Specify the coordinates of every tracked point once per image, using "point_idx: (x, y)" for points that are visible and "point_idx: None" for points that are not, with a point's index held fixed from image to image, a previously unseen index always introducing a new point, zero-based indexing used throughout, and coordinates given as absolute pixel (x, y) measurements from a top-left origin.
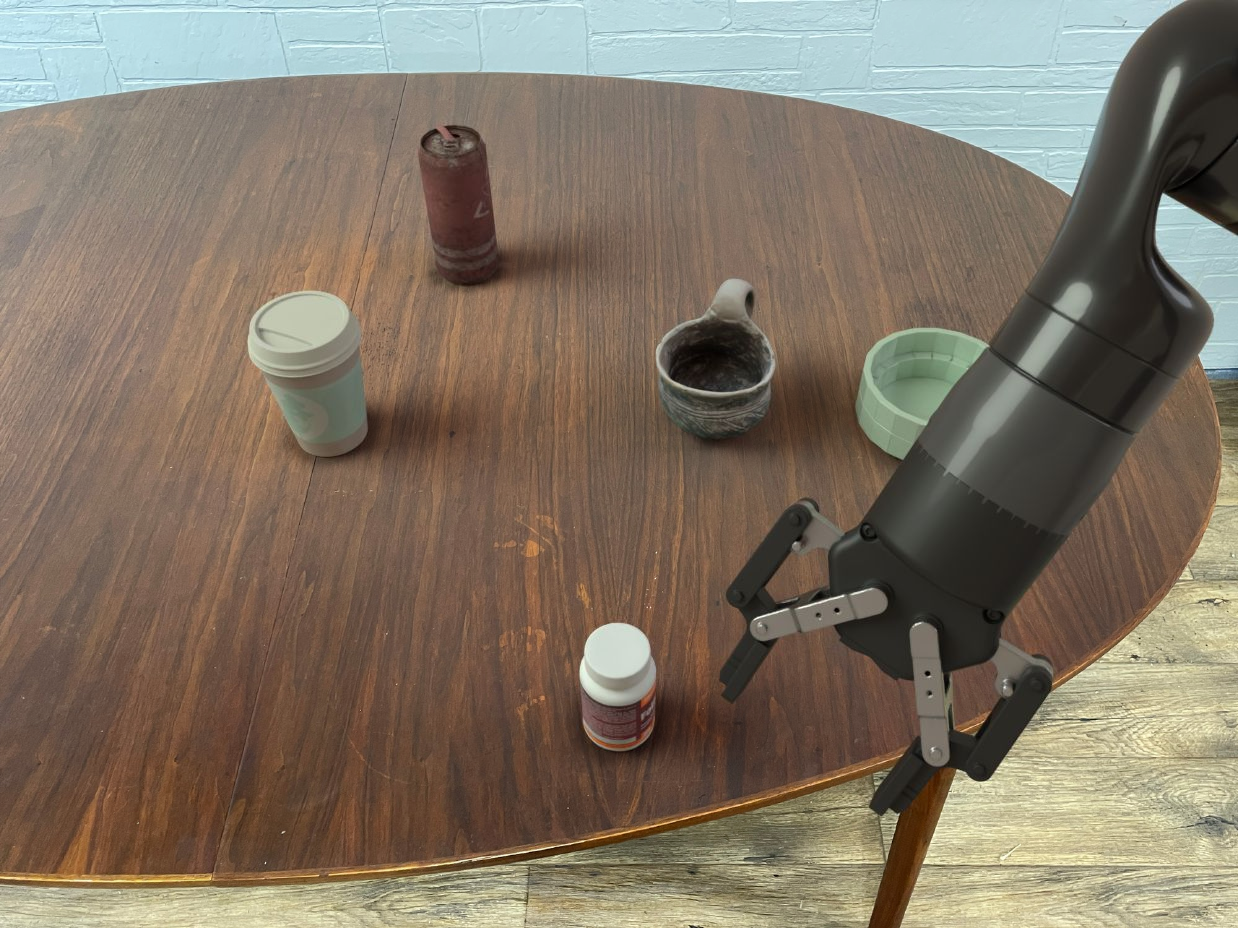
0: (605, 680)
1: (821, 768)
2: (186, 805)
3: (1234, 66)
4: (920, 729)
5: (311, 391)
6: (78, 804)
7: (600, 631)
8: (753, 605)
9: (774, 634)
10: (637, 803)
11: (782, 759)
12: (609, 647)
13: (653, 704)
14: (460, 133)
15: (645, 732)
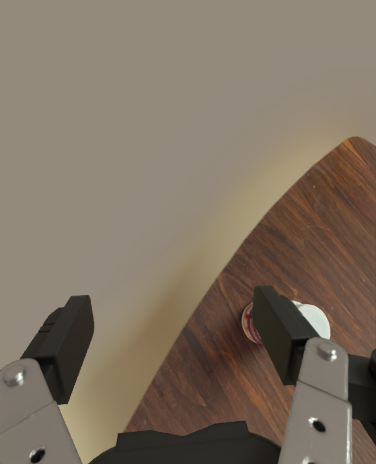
0: (298, 305)
1: (153, 384)
2: (343, 175)
3: None
4: (47, 388)
5: None
6: (364, 156)
7: (327, 332)
8: (363, 373)
9: (309, 355)
10: (221, 288)
11: (176, 370)
12: (315, 326)
13: (257, 332)
14: None
15: (246, 321)
